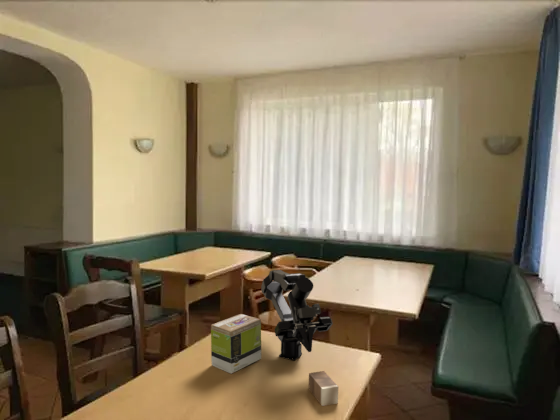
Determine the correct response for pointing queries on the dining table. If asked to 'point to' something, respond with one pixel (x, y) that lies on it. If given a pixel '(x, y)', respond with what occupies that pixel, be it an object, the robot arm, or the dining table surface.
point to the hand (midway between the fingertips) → (310, 351)
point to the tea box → (235, 342)
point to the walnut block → (323, 388)
